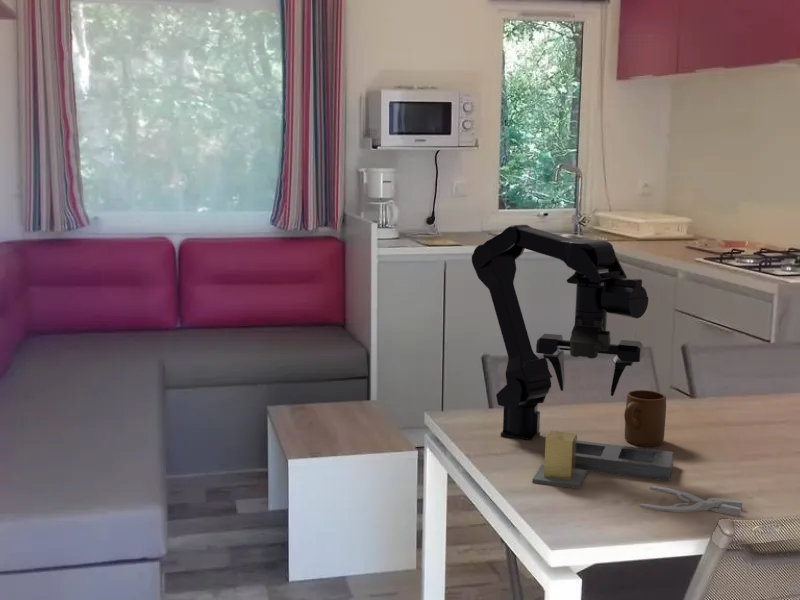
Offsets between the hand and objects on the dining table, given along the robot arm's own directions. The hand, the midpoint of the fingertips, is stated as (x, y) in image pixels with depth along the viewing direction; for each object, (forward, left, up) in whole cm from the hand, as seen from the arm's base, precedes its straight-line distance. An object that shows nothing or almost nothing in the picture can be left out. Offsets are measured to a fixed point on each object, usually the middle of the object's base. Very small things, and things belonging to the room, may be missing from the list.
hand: (587, 392), depth 176 cm
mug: (+9, +11, -12) cm, 19 cm away
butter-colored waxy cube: (-2, -14, -11) cm, 18 cm away
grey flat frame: (+6, -4, -12) cm, 14 cm away
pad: (-2, -14, -12) cm, 19 cm away
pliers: (+20, -18, -13) cm, 30 cm away
